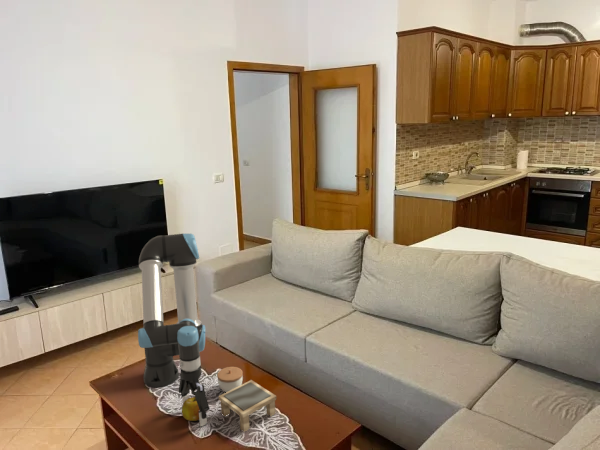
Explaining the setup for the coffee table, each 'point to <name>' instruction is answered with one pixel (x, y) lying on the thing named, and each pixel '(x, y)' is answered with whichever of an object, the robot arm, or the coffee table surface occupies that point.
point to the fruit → (190, 409)
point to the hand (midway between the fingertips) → (195, 417)
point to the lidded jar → (230, 378)
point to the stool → (247, 401)
